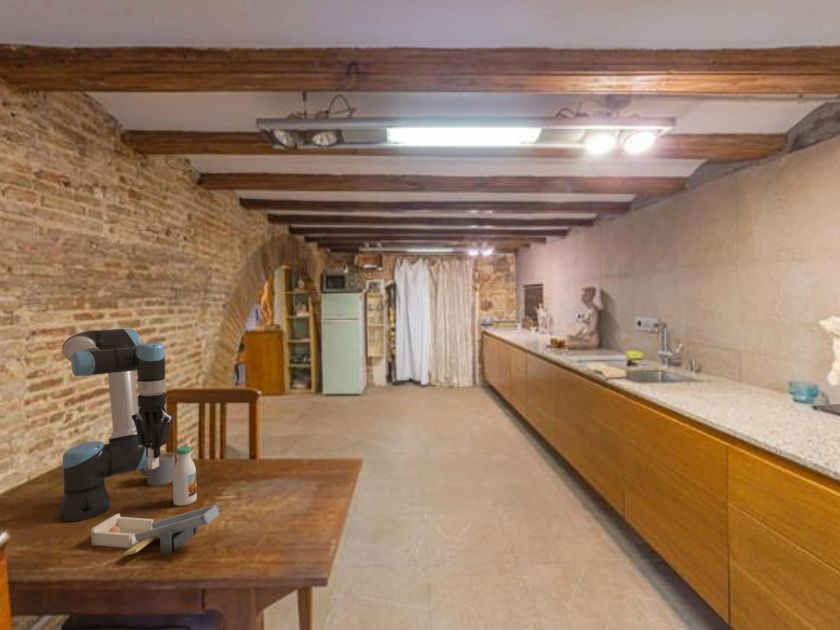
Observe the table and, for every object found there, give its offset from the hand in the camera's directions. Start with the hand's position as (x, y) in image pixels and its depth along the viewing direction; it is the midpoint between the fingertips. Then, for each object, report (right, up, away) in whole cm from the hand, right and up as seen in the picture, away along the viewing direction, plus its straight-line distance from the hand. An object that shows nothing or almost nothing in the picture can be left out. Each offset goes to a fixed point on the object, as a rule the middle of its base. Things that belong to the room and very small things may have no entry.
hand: (153, 467), depth 143 cm
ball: (-13, -20, 0) cm, 24 cm away
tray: (-10, -22, 0) cm, 24 cm away
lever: (+9, -18, -6) cm, 21 cm away
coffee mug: (-24, -21, +45) cm, 55 cm away
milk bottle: (-3, -21, +25) cm, 33 cm away
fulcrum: (+10, -22, -3) cm, 24 cm away
